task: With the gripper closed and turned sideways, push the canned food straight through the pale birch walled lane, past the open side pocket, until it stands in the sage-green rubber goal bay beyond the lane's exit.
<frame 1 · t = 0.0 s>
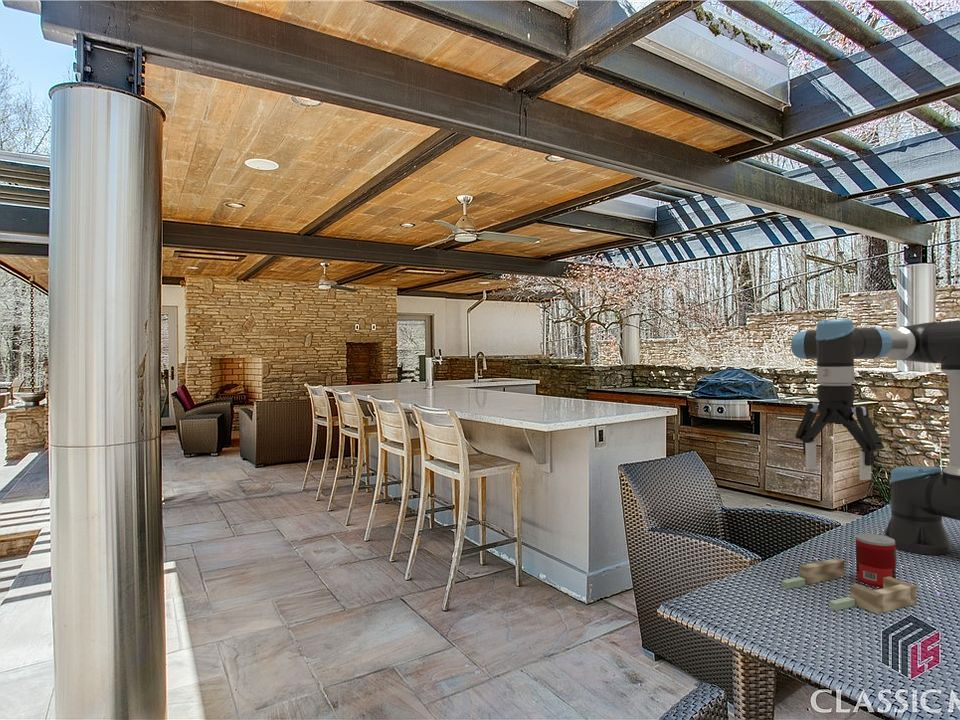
hand: (837, 474, 133), 28 cm above the table, fingers open, 13 cm apart
canned food: (876, 583, 138), on the table
goal bay: (816, 596, 131), on the table
lane: (847, 589, 135), on the table
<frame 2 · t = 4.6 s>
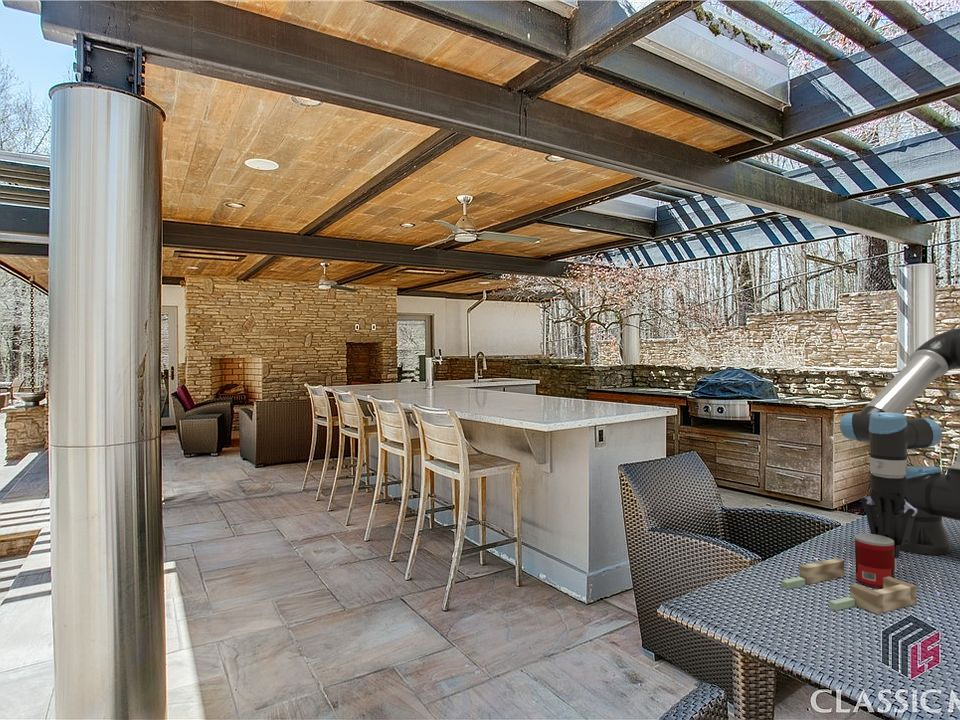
hand: (889, 569, 140), 2 cm above the table, fingers closed
canned food: (875, 583, 138), on the table, touching gripper
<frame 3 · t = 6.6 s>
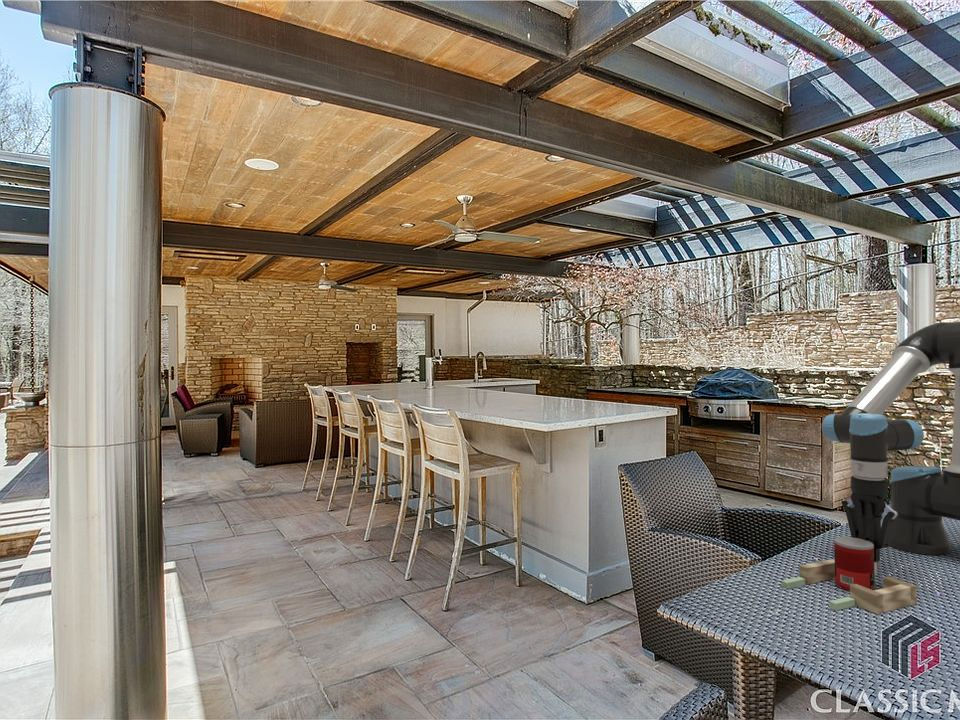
hand: (870, 573, 137), 3 cm above the table, fingers closed
canned food: (854, 587, 136), on the table, touching gripper
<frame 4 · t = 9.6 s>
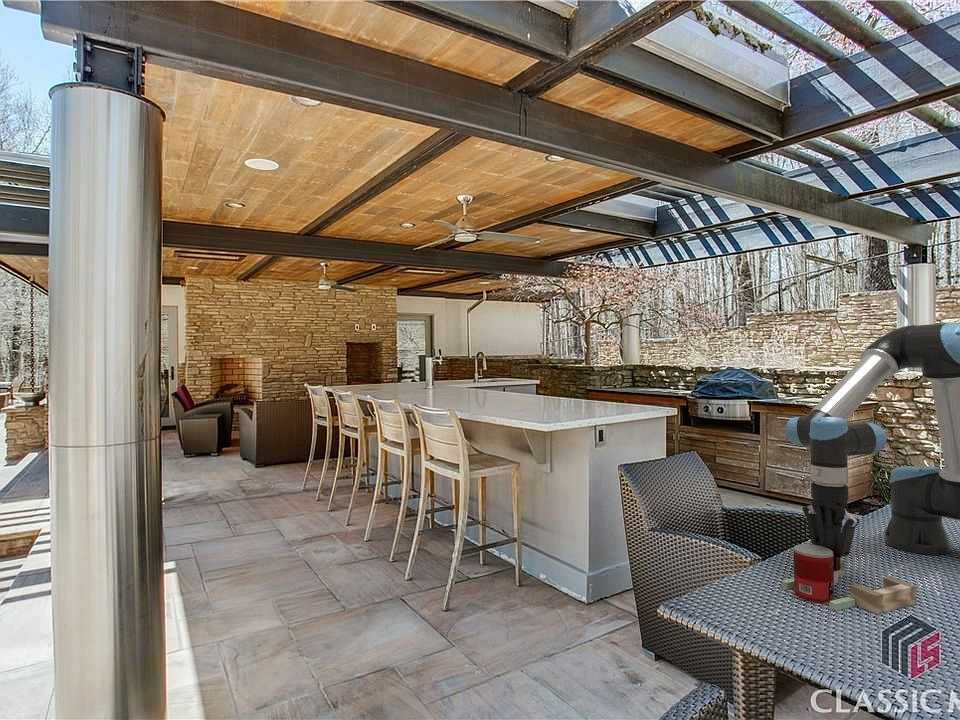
hand: (831, 582, 133), 2 cm above the table, fingers closed
canned food: (814, 597, 131), on the table, touching gripper
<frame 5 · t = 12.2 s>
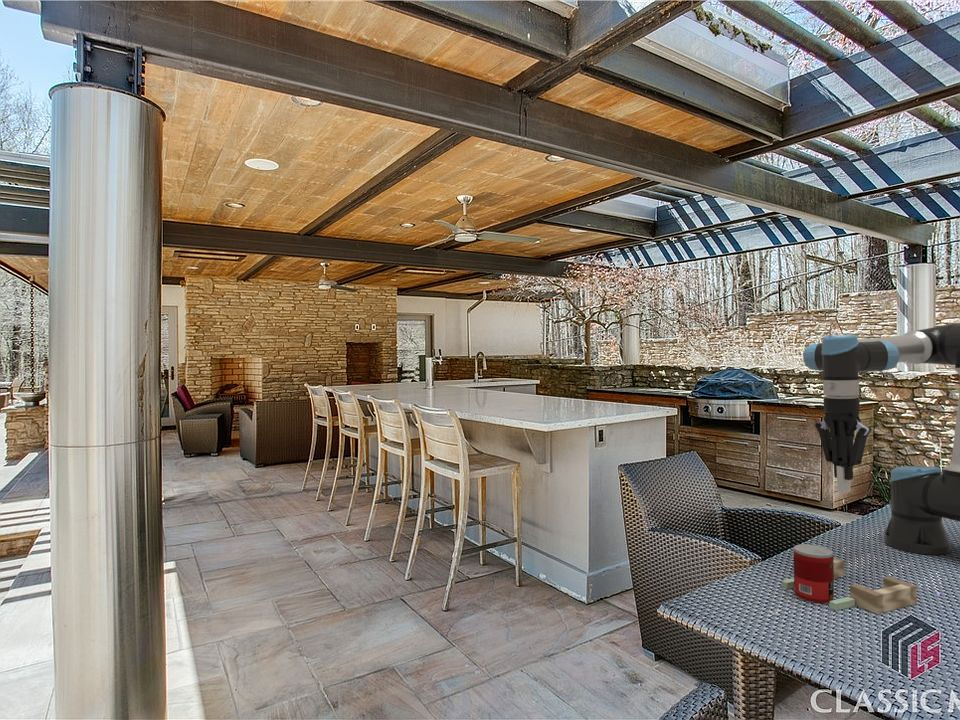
hand: (844, 492, 139), 22 cm above the table, fingers closed
canned food: (813, 597, 131), on the table
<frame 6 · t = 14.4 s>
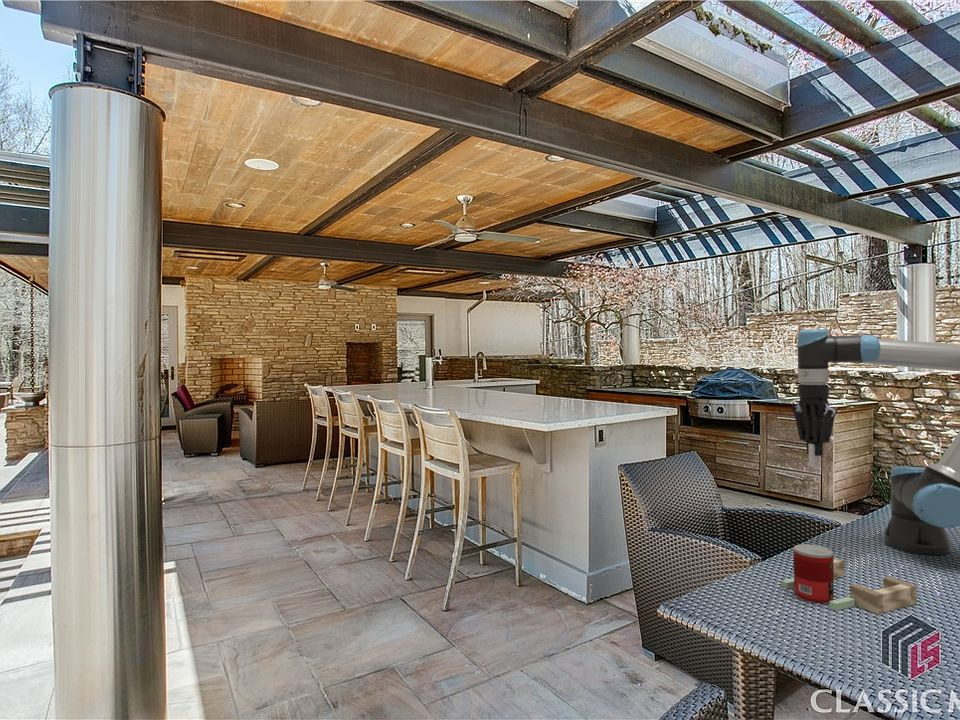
hand: (814, 466, 160), 24 cm above the table, fingers closed
nothing on the table moved.
at the end: canned food inside the target area (1.0 cm from its centre), on the table; canned food tilted 0°; the gripper is holding nothing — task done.
